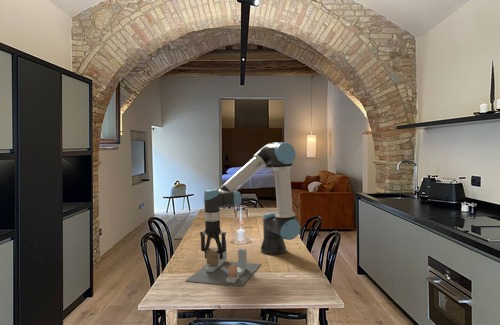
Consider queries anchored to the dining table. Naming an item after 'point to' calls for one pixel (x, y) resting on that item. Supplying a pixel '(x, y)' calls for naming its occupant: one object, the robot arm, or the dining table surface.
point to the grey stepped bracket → (213, 267)
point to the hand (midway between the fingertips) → (214, 264)
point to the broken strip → (239, 265)
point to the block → (212, 256)
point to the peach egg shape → (232, 270)
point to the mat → (223, 275)
